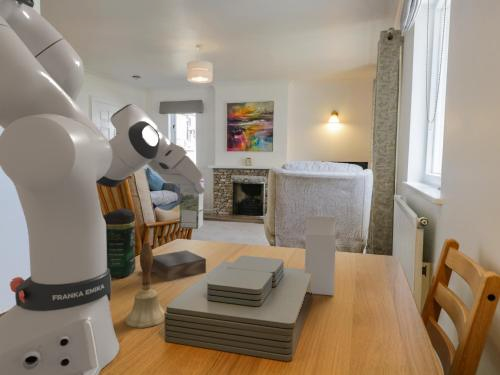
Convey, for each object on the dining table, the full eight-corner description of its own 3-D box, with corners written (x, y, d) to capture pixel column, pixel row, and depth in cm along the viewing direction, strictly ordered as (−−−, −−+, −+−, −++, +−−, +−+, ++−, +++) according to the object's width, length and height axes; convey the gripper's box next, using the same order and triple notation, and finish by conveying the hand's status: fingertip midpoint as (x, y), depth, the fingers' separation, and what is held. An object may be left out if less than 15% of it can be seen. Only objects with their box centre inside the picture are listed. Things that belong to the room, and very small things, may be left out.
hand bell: (127, 312, 74) (126, 239, 73) (167, 308, 76) (166, 237, 75) (123, 330, 66) (121, 248, 65) (167, 325, 68) (167, 246, 67)
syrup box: (203, 226, 104) (204, 177, 103) (198, 229, 98) (199, 178, 97) (184, 225, 104) (185, 177, 104) (178, 228, 98) (179, 177, 98)
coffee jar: (129, 278, 95) (128, 211, 94) (100, 279, 95) (98, 211, 93) (139, 267, 105) (137, 207, 103) (112, 268, 104) (110, 207, 103)
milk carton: (333, 296, 84) (336, 218, 83) (304, 293, 86) (306, 217, 84) (332, 285, 91) (334, 214, 90) (305, 283, 92) (307, 213, 91)
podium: (167, 280, 94) (167, 266, 93) (150, 269, 103) (149, 256, 103) (205, 272, 101) (205, 258, 101) (186, 262, 110) (186, 250, 110)
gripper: (141, 164, 102) (172, 196, 108) (169, 164, 85) (204, 202, 92) (156, 149, 104) (185, 181, 110) (186, 147, 88) (218, 185, 94)
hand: (194, 191), depth 101 cm, fingers closed on syrup box, 8 cm apart
